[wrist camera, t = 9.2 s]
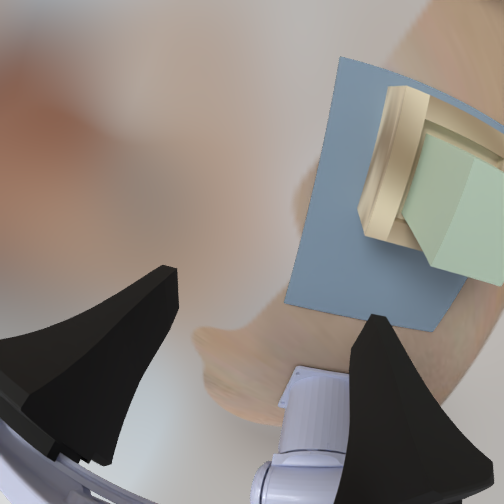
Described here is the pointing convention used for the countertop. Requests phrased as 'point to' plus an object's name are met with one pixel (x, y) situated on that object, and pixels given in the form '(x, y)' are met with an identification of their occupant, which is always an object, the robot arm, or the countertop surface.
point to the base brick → (415, 156)
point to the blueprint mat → (349, 224)
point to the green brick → (458, 211)
